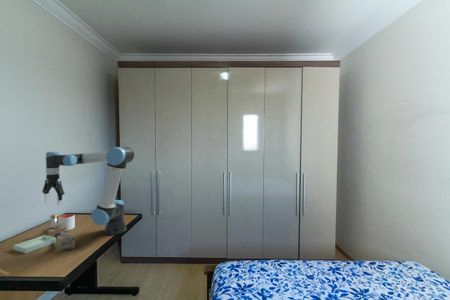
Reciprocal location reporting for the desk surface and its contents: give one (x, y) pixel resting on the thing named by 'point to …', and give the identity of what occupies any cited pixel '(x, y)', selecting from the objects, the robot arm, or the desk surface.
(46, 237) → the tray
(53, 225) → the lock pin
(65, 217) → the cup
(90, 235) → the desk surface
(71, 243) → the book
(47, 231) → the block
